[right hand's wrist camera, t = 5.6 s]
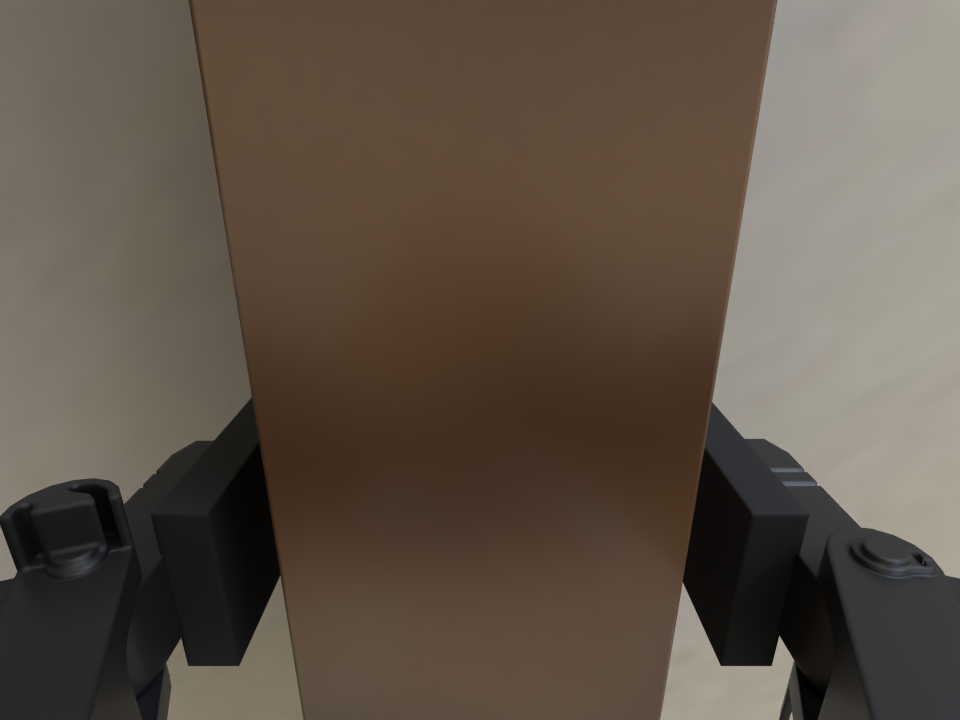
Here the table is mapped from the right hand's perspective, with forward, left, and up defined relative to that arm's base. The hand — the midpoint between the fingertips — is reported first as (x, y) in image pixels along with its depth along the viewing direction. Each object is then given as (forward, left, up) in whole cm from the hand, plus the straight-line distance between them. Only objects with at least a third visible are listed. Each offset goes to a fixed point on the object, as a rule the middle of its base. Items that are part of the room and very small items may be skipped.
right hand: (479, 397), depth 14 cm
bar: (+4, +7, -1) cm, 8 cm away
